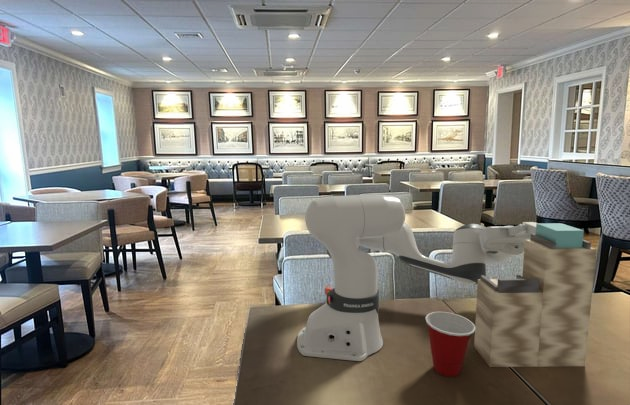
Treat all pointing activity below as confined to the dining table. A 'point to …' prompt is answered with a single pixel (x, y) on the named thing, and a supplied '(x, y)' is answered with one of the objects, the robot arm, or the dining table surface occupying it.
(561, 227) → the plug
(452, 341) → the plastic cup
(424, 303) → the dining table surface
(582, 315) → the zigzag stepped block
